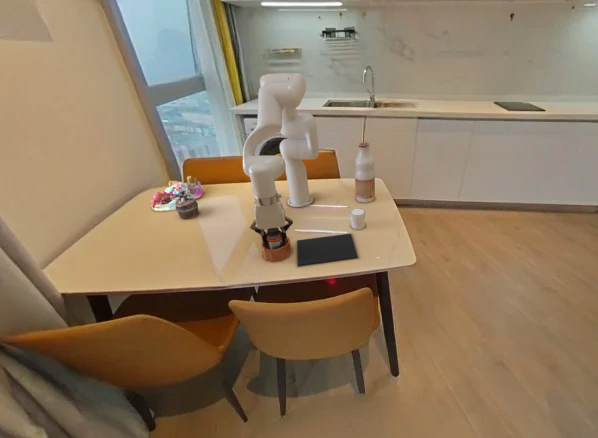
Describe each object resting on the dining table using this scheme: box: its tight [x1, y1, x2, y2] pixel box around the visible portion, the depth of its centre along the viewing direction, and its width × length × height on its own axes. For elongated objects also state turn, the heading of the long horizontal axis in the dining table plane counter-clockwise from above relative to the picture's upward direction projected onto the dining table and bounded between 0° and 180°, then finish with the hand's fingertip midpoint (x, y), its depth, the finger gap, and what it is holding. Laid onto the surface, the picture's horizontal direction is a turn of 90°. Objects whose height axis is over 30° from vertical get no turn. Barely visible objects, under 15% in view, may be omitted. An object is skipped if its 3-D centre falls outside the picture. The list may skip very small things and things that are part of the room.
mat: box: [296, 233, 359, 267], centre depth 122 cm, size 16×22×1 cm
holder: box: [260, 236, 292, 262], centre depth 120 cm, size 10×10×5 cm
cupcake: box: [175, 193, 200, 220], centre depth 147 cm, size 10×10×10 cm
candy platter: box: [150, 175, 205, 212], centre depth 162 cm, size 25×24×9 cm
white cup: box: [349, 207, 366, 230], centre depth 134 cm, size 7×7×7 cm
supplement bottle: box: [266, 227, 284, 250], centre depth 118 cm, size 6×6×11 cm
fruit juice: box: [354, 141, 376, 204], centre depth 150 cm, size 9×9×28 cm
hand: (275, 240), depth 118 cm, fingers closed on supplement bottle, 6 cm apart
